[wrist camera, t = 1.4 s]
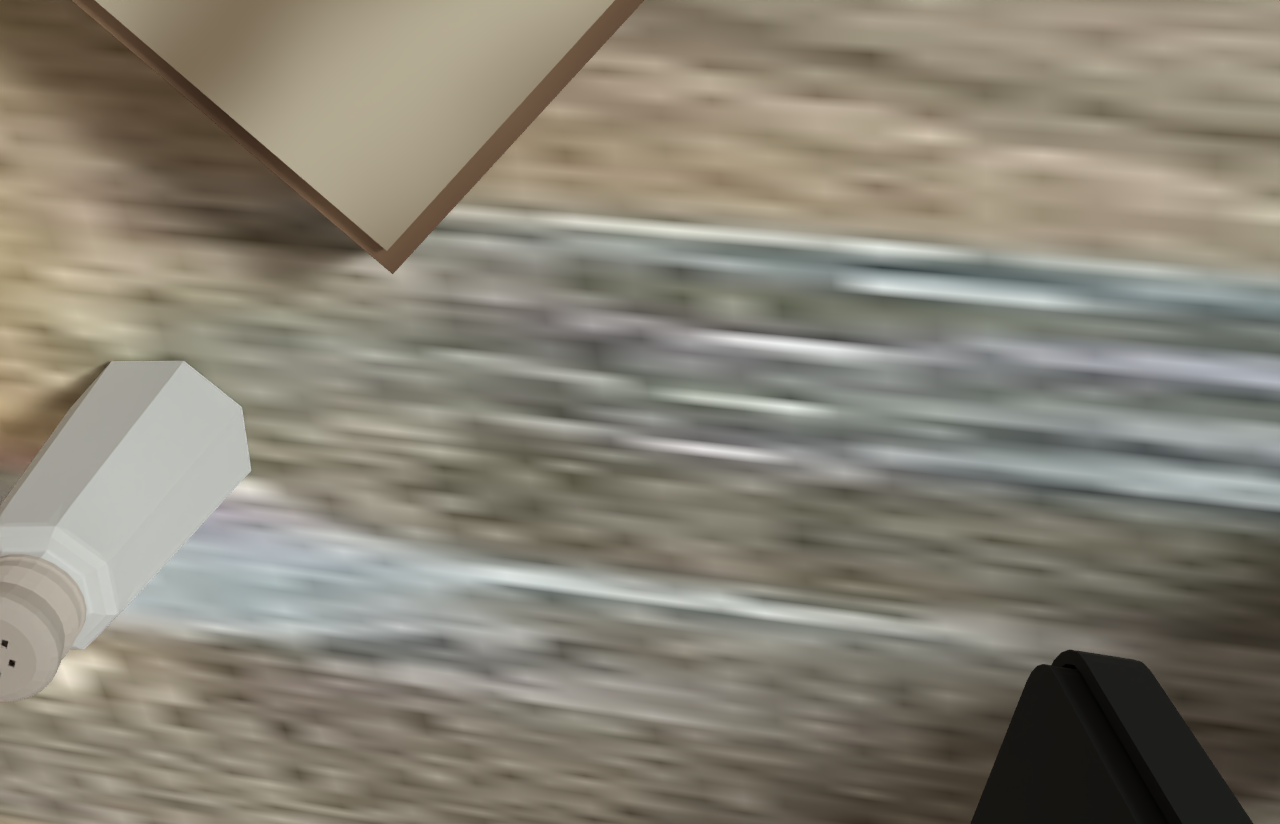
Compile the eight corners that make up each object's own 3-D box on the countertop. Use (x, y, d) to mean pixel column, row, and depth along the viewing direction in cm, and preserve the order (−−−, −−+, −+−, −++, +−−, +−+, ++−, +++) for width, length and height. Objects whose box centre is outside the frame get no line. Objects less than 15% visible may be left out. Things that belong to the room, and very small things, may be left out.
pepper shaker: (53, 482, 36) (-162, 712, 26) (92, 325, 34) (-126, 510, 24) (229, 540, 37) (85, 785, 27) (277, 391, 35) (141, 595, 25)
